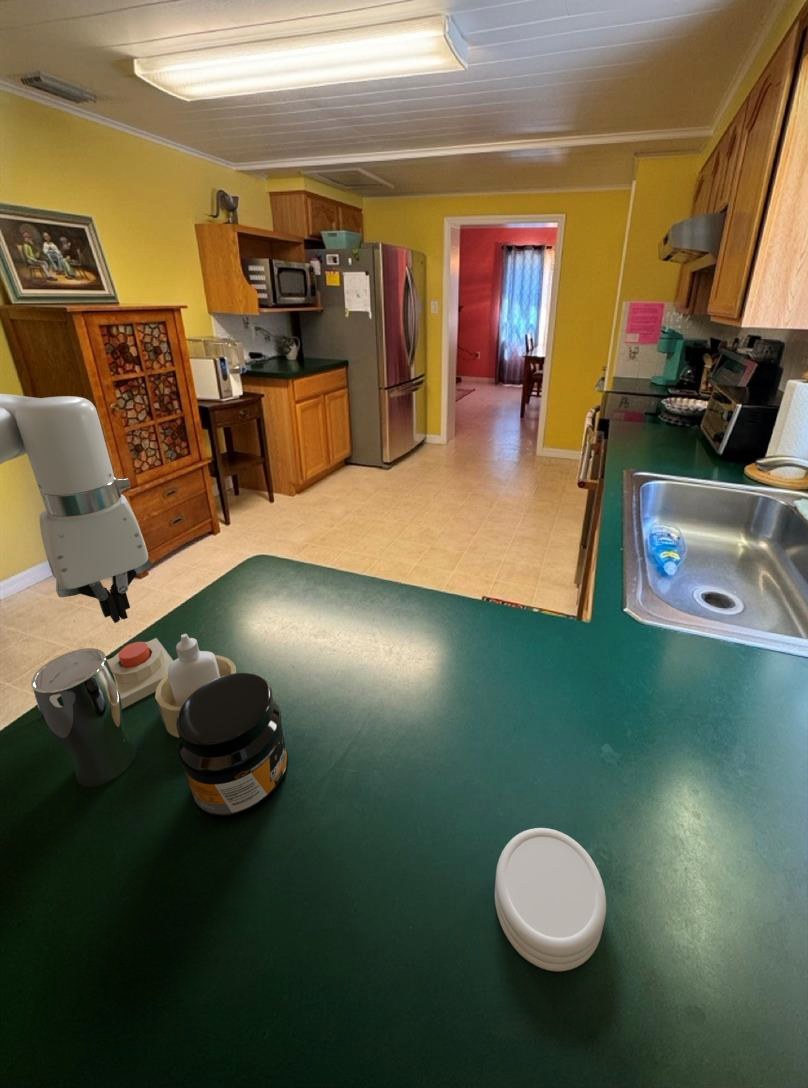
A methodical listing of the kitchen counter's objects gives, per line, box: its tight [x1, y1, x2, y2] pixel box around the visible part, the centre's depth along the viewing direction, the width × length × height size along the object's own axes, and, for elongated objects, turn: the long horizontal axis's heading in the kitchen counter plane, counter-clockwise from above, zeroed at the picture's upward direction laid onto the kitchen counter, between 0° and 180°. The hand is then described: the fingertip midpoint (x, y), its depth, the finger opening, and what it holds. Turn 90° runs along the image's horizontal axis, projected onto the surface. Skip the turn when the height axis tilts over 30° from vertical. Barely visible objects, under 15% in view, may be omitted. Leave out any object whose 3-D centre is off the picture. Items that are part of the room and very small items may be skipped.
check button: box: [118, 641, 150, 668], centre depth 69 cm, size 4×4×2 cm
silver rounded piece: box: [30, 647, 137, 788], centre depth 55 cm, size 7×7×15 cm
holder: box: [154, 654, 238, 738], centre depth 64 cm, size 10×10×5 cm
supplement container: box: [176, 672, 289, 821], centre depth 53 cm, size 10×10×12 cm
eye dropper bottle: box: [168, 633, 220, 706], centre depth 63 cm, size 4×6×12 cm
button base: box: [107, 637, 174, 710], centre depth 70 cm, size 10×8×4 cm
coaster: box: [494, 827, 607, 972], centre depth 44 cm, size 10×10×4 cm
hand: (118, 616), depth 66 cm, fingers closed
